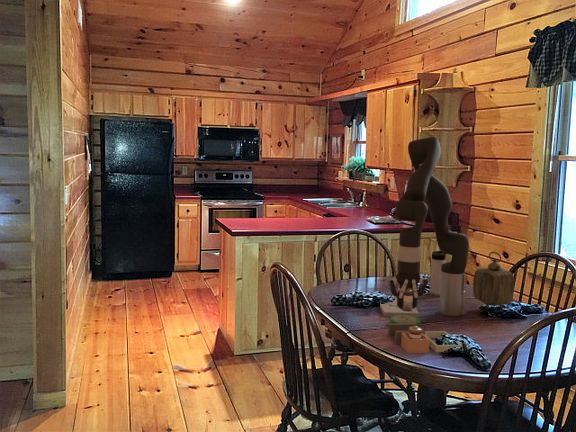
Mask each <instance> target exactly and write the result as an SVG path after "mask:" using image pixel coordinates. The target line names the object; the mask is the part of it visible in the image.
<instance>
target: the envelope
mask: <svg viewBox="0 0 576 432" xmlns="http://www.w3.org/2000/svg"><path fill="white" fill-rule="evenodd" d="M379 308H381V309H380V311H381V313H382V316H383V317H388V318H389V317H390V318H391V317H393V316H396V315H409V316H414V317H417V318H419V317H420V313H419V311H418V310H417V307H415V308H413V310H412V311H410V312H407V311H402V310H401V309H400V308H399V307H398V306H397V297H395V300H394V301H393V302H388V303H385V304H381V303H380V307H379Z"/></svg>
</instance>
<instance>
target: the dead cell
mask: <svg viewBox="0 0 576 432" xmlns="http://www.w3.org/2000/svg"><path fill="white" fill-rule="evenodd" d="M422 330H423V329H422V327H421V326H420V327H418V326H412V327H409V339H421V336H422Z"/></svg>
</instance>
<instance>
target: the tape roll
mask: <svg viewBox="0 0 576 432" xmlns="http://www.w3.org/2000/svg"><path fill="white" fill-rule="evenodd" d="M393 323H416V324H417V326H418V327H420V328H421V319H420V318H419V317H414V316H409V315H396V316H393V317H390V321H389V324H393Z"/></svg>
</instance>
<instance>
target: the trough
mask: <svg viewBox="0 0 576 432" xmlns="http://www.w3.org/2000/svg"><path fill="white" fill-rule="evenodd" d="M443 334H444V335H448V336H449V337H450V336H451V335H450V334H449V333H448V332H447V331H446V330H438V331H437V330H436V331H435V330H433V331H432V330H431V331H425V336H426V337H427V338H429V348H431V349H432V350H433V351H435V353H445V352H444V351H446V350H448V349H450V348H454V347H462V348H463V344H461V343H460V342H459V341H458V340H457V341H455V340H456V339H455V340H454V341H455V342H456V343H457V344H458V345H452V344H437V343H436V342H435V341H434V340H433V338H436V339H437V337H439V336H441V335H443Z"/></svg>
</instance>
